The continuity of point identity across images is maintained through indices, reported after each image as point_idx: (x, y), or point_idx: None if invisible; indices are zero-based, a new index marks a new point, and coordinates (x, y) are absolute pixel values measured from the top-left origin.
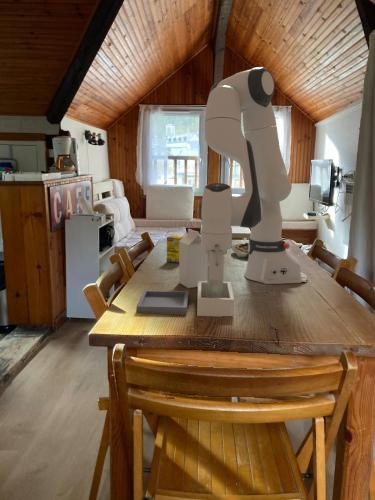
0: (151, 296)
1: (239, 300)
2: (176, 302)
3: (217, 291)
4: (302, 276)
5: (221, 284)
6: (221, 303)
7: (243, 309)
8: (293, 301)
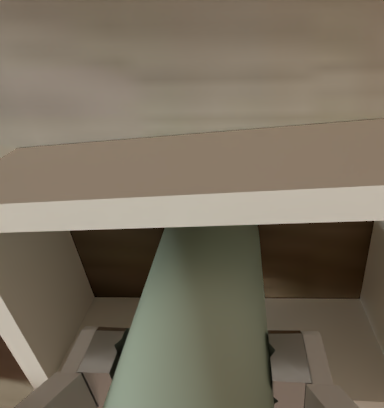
0: None
1: (55, 71)
2: None
3: (316, 333)
4: None
5: (234, 345)
6: None
7: (255, 30)
8: None
